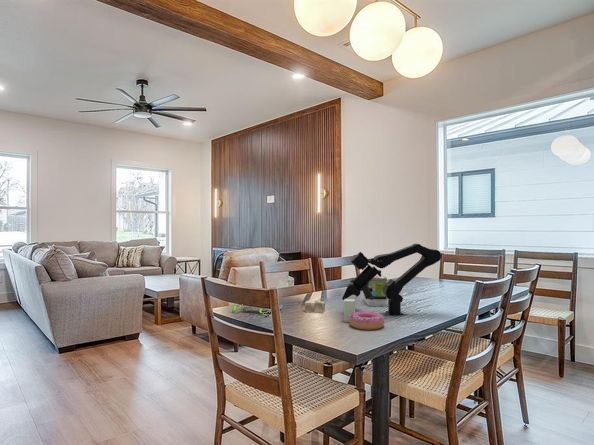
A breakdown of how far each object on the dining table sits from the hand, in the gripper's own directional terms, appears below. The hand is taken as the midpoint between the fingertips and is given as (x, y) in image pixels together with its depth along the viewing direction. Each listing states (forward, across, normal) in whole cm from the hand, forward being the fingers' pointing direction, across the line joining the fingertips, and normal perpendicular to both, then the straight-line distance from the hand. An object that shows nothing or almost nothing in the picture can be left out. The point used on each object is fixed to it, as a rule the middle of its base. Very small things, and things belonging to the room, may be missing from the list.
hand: (342, 299), depth 180 cm
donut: (-4, -21, -13) cm, 25 cm away
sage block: (+2, -14, -8) cm, 16 cm away
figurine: (+34, -5, +25) cm, 42 cm away
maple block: (+9, 0, +4) cm, 10 cm away
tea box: (-5, +25, -15) cm, 30 cm away
